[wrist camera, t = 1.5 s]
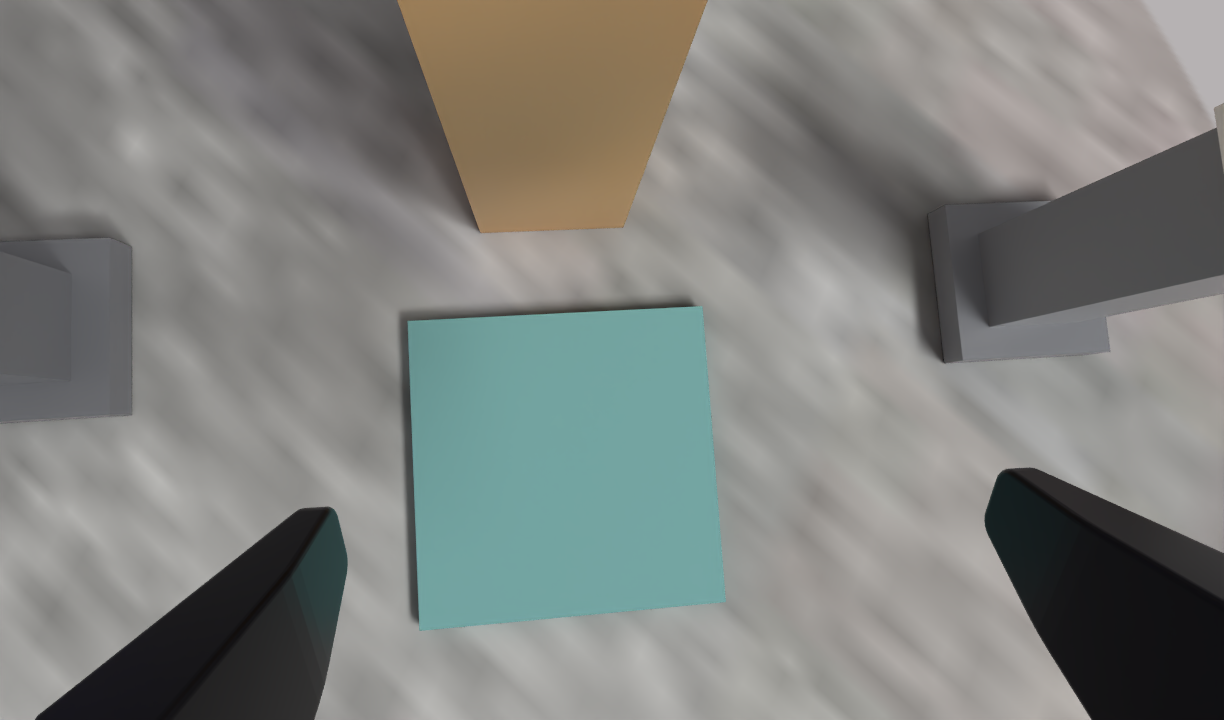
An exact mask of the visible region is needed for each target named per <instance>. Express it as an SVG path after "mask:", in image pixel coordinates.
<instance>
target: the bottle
mask: <svg viewBox="0 0 1224 720" xmlns="http://www.w3.org/2000/svg"><path fill="white" fill-rule="evenodd" d="M397 1H398V4H399V7H400V9H401V12H402V15H403V18H404V21H405V23H406V26H407V29H408V32H409V35H410V37H411V40H412V43H413V46H414V49H415V51H416V54H417V57H418V60H419V63H420V65H421V68H422V71H423V74H424V77H425V79H426V82H427V85H428V88H429V91H430V93H431V96H432V99H433V102H434V105H435V107H436V110H437V113H438V116H439V119H440V121H441V124H442V127H443V130H444V132H445V135H446V138H447V141H448V144H449V146H450V149H451V152H452V155H453V158H454V160H455V163H456V166H457V169H458V172H459V174H460V177H461V180H462V183H463V186H464V188H465V191H466V194H467V197H468V200H469V202H470V205H471V208H472V211H473V214H474V216H475V219H476V222H477V225H478V228H479V230H480V233H491V232H518V231H544V230H571V229H597V228H623V227H624V224H625V221H626V219H627V216H628V213H629V211H630V208H631V205H632V203H633V200H634V197H635V195H636V192H637V189H638V186H639V184H640V181H641V178H642V176H643V173H644V170H645V168H646V165H647V162H648V160H649V157H650V154H651V151H652V149H653V146H654V143H655V141H656V138H657V135H658V133H659V130H660V127H661V124H662V122H663V119H664V116H665V114H666V111H667V108H668V106H669V103H670V100H671V98H672V95H673V92H674V89H675V87H676V84H677V81H678V79H679V76H680V73H681V71H682V68H683V65H684V63H685V60H686V57H687V54H688V52H689V49H690V46H691V44H692V41H693V38H694V36H695V33H696V30H697V28H698V25H699V22H700V19H701V17H702V14H703V11H704V9H705V6H706V3H707V1H708V0H397Z"/></svg>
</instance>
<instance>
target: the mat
mask: <svg viewBox="0 0 1224 720" xmlns="http://www.w3.org/2000/svg"><path fill="white" fill-rule="evenodd" d="M408 346H409V372H410V397H411V423H412V449H413V475H414V501H415V527H416V553H417V578H418V604H419V630H420V631H422V630H433V629H444V628H454V627H465V626H475V625H486V624H497V623H507V622H518V621H528V620H539V619H550V618H560V617H571V616H582V615H592V614H603V613H613V612H624V611H635V610H645V609H656V608H666V607H677V606H688V605H698V604H709V603H720V602H726V599H725V586H724V574H723V561H722V548H721V536H720V523H719V511H718V498H717V485H716V473H715V460H714V447H713V435H712V422H711V409H710V397H709V384H708V371H707V359H706V346H705V333H704V321H703V308H702V306H697V307H677V308H657V309H637V310H617V311H597V312H577V313H557V314H537V315H517V316H497V317H477V318H457V319H437V320H417V321H408Z"/></svg>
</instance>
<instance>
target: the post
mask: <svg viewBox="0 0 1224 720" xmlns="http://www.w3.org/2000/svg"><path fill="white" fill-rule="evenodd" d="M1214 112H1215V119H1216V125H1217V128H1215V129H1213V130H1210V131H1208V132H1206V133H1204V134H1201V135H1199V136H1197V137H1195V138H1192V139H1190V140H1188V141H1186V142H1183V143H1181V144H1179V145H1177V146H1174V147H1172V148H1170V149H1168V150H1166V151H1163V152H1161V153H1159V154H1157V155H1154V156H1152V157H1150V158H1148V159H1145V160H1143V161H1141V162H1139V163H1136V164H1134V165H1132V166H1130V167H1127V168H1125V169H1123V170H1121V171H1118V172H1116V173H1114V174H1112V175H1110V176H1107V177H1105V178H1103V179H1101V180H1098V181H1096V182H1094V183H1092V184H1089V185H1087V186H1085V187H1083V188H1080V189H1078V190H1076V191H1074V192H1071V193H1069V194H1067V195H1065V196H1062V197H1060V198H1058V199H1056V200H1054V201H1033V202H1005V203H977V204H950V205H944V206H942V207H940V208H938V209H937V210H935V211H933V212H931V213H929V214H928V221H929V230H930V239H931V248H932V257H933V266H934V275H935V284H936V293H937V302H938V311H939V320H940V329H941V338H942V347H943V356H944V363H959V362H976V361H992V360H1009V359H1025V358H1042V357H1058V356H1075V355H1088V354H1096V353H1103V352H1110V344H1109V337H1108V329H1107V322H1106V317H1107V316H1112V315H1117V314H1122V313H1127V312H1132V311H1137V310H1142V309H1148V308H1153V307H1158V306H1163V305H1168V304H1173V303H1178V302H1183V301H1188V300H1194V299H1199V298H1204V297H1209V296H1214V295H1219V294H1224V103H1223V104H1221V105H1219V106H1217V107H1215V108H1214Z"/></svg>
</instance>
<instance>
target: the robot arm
mask: <svg viewBox="0 0 1224 720" xmlns="http://www.w3.org/2000/svg"><path fill="white" fill-rule="evenodd" d="M985 527H986V531H987V534H988V536H989V538H990V540H991V542H992V544H993V546H994V548H995V550H996V552H997V554H998V556H999V558H1000V560H1001V562H1002V564H1003V566H1004V568H1005V570H1006V572H1007V574H1008V576H1009V578H1010V580H1011V582H1012V584H1013V586H1014V588H1015V590H1016V592H1017V594H1018V596H1019V598H1020V600H1021V602H1022V604H1023V606H1024V608H1025V610H1026V612H1027V614H1028V616H1029V618H1030V620H1031V621H1032V623H1033V625H1034V627H1035V629H1036V631H1037V633H1038V634H1039V636H1040V638H1041V639H1042V641H1043V643H1044V644H1045V646H1046V648H1047V649H1048V651H1049V653H1050V654H1051V656H1052V657H1053V659H1054V661H1055V662H1056V664H1057V665H1058V667H1059V669H1060V670H1061V672H1062V673H1063V675H1064V677H1065V678H1066V680H1067V681H1068V683H1069V685H1070V686H1071V688H1072V689H1073V691H1074V693H1075V694H1076V696H1077V697H1078V699H1079V700H1080V702H1081V704H1082V705H1083V707H1084V708H1085V710H1086V712H1087V713H1088V715H1089V716H1090V718H1091V720H1224V553H1222V552H1220V551H1218V550H1215V549H1213V548H1211V547H1209V546H1207V545H1204V544H1202V543H1200V542H1198V541H1195V540H1193V539H1191V538H1189V537H1187V536H1184V535H1182V534H1180V533H1178V532H1176V531H1173V530H1171V529H1169V528H1167V527H1164V526H1162V525H1160V524H1158V523H1156V522H1153V521H1151V520H1149V519H1147V518H1144V517H1142V516H1140V515H1138V514H1136V513H1133V512H1131V511H1129V510H1127V509H1124V508H1122V507H1120V506H1118V505H1116V504H1113V503H1111V502H1109V501H1107V500H1105V499H1102V498H1100V497H1098V496H1096V495H1093V494H1091V493H1089V492H1087V491H1085V490H1082V489H1080V488H1078V487H1076V486H1073V485H1071V484H1069V483H1067V482H1065V481H1062V480H1060V479H1058V478H1056V477H1054V476H1051V475H1049V474H1047V473H1045V472H1042V471H1040V470H1038V469H1035V468H1013V469H1006V470H1003V471H1002V472H1001V473H1000V474H999V475H998V477H997V479H996V482H995V485H994V488H993V491H992V494H991V497H990V500H989V503H988V506H987V509H986V512H985ZM347 566H348V560H347V552H346V548H345V544H344V540H343V536H342V532H341V528H340V524H339V520H338V516H337V514H336V512H335V510H334V509H332V508H331V507H313V508H302V509H299V510H298V511H296V512H294V513H293V514H292V515H291V516H289V517H288V518H287V519H286V520H284V521H283V522H282V523H281V524H279V525H278V526H277V527H276V528H274V529H273V530H272V531H270V532H269V533H268V534H267V535H265V536H264V537H263V538H262V539H260V540H259V541H258V542H257V543H255V544H254V545H253V546H252V547H250V548H249V549H248V550H246V551H245V552H244V553H243V554H241V555H240V556H239V557H238V558H236V559H235V560H234V561H233V562H231V563H230V564H229V565H228V566H226V567H225V568H224V569H222V570H221V571H220V572H219V573H217V574H216V575H215V576H214V577H212V578H211V579H210V580H209V581H207V582H206V583H205V584H204V585H202V586H201V587H200V588H198V589H197V590H196V591H195V592H193V593H192V594H191V595H190V596H188V597H187V598H186V599H185V600H183V601H182V602H181V603H180V604H178V605H177V606H176V607H174V608H173V609H172V610H171V611H169V612H168V613H167V614H166V615H164V616H163V617H162V618H161V619H159V620H158V621H157V622H156V623H154V624H153V625H152V626H150V627H149V628H148V629H147V630H145V631H144V632H143V633H142V634H140V635H139V636H138V637H137V638H135V639H134V640H133V641H132V642H130V643H129V644H128V645H126V646H125V647H124V648H123V649H121V650H120V651H119V652H118V653H116V654H115V655H114V656H113V657H111V658H110V659H109V660H107V661H106V662H105V663H104V664H102V665H101V666H100V667H99V668H97V669H96V670H95V671H94V672H92V673H91V674H90V675H89V676H87V677H86V678H85V679H83V680H82V681H81V682H80V683H78V684H77V685H76V686H75V687H73V688H72V689H71V690H70V691H68V692H67V693H66V694H65V695H63V696H62V697H61V698H59V699H58V700H57V701H56V702H54V703H53V704H52V705H51V706H49V707H48V708H47V709H46V710H44V711H43V712H42V713H40V714H39V715H38V716H37V717H36V719H35V720H314V719H315V716H316V712H317V709H318V706H319V703H320V699H321V696H322V692H323V689H324V685H325V681H326V676H327V672H328V667H329V662H330V657H331V652H332V647H333V642H334V636H335V631H336V626H337V621H338V616H339V611H340V606H341V600H342V595H343V590H344V585H345V580H346V575H347Z"/></svg>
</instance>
